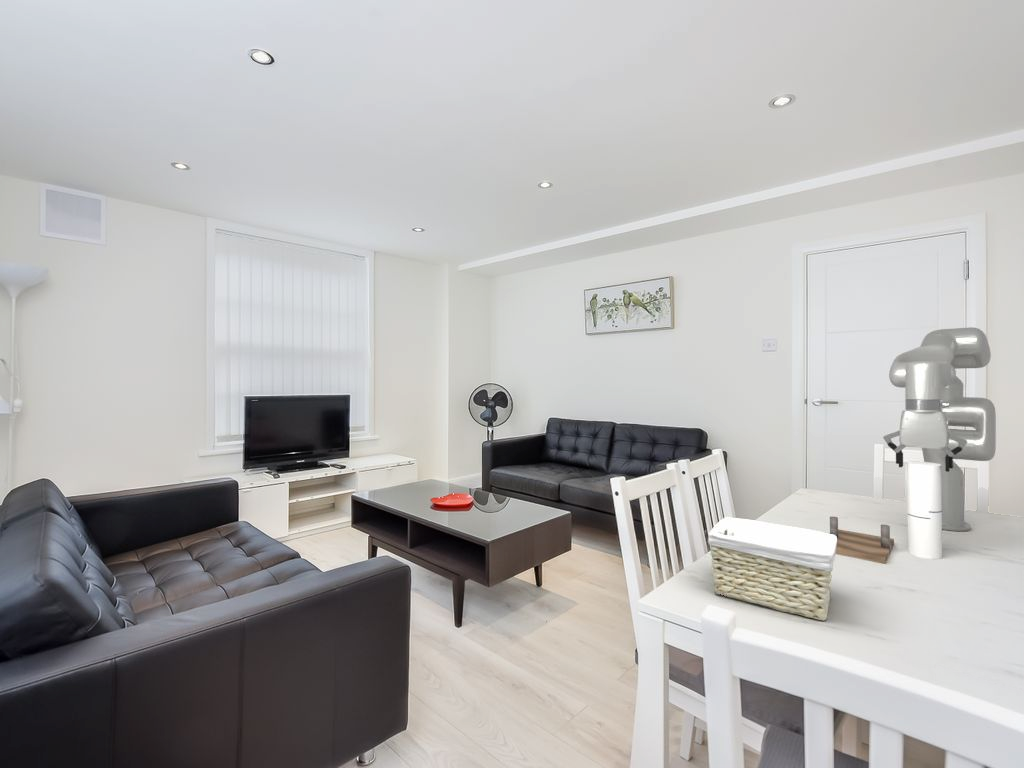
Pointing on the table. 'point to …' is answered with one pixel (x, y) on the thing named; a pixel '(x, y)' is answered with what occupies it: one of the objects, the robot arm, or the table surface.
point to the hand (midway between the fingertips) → (923, 468)
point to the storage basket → (773, 565)
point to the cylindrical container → (924, 509)
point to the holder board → (862, 543)
